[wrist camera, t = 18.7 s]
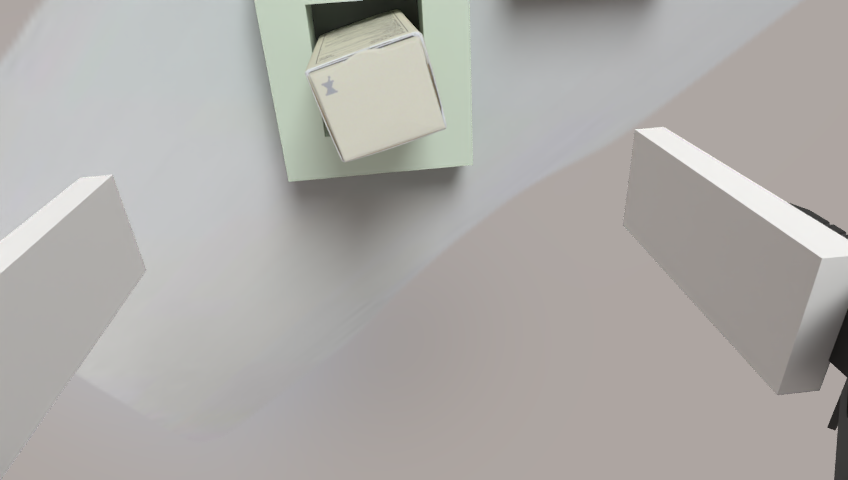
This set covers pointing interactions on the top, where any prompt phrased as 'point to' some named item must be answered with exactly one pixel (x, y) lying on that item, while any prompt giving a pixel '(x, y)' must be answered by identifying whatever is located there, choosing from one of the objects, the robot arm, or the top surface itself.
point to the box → (375, 85)
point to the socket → (302, 121)
